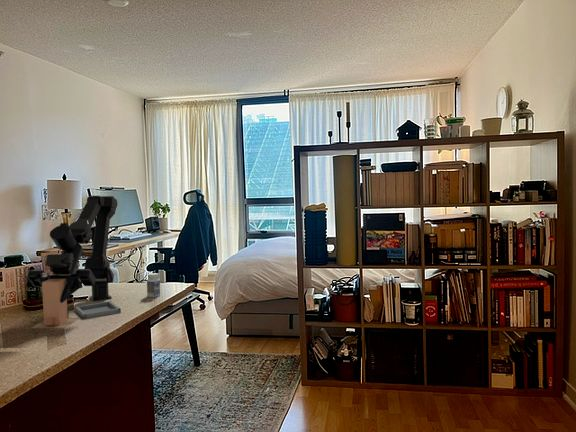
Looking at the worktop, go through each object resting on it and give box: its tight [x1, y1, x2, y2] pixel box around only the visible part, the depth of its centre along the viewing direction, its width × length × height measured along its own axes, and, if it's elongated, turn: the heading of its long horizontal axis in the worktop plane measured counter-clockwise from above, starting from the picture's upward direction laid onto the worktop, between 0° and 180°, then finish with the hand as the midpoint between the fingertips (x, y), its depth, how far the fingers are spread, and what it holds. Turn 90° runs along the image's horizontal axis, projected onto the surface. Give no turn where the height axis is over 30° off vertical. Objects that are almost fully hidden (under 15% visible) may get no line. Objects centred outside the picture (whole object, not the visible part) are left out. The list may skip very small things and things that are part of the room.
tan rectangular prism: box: [41, 279, 68, 325], centre depth 127 cm, size 6×5×13 cm
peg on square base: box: [29, 317, 80, 330], centre depth 129 cm, size 10×10×4 cm
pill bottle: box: [146, 272, 161, 298], centre depth 164 cm, size 5×5×8 cm
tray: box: [75, 301, 122, 320], centre depth 141 cm, size 12×11×2 cm
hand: (52, 302), depth 127 cm, fingers closed on tan rectangular prism, 5 cm apart
